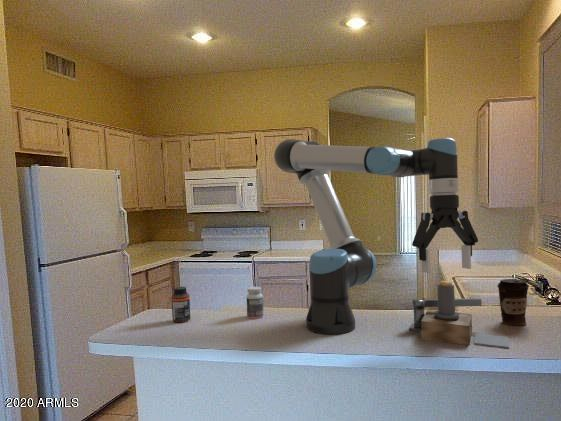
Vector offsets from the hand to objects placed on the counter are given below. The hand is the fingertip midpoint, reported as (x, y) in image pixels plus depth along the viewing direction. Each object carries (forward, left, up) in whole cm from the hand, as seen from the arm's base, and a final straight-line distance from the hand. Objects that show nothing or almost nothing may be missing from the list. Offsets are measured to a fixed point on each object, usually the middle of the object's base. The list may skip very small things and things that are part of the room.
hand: (446, 270), depth 112 cm
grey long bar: (-1, +7, -12) cm, 14 cm away
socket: (0, 0, -18) cm, 18 cm away
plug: (0, 0, -18) cm, 18 cm away
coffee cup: (+17, +19, -19) cm, 31 cm away
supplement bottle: (-82, -18, -19) cm, 86 cm away
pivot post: (-8, +3, -18) cm, 20 cm away
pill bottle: (-61, -4, -19) cm, 64 cm away
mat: (+11, -1, -18) cm, 21 cm away
